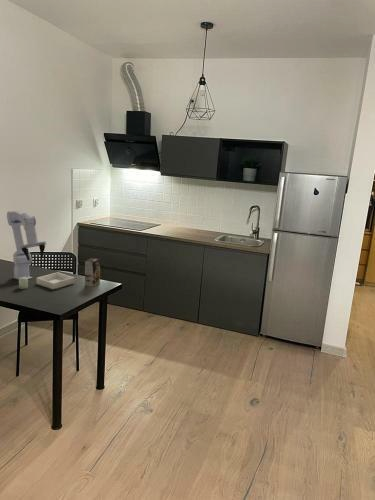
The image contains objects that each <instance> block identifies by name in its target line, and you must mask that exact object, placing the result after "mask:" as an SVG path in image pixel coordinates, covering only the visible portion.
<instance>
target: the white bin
mask: <svg viewBox="0 0 375 500" xmlns="http://www.w3.org/2000/svg"><path fill="white" fill-rule="evenodd" d="M36 284H37V285H39V286H41V287H45V288H47V289H51V290H53V291H55V290H58V289H61V288H64V287H68V286H70V285H74V284H75V277H74V276H72V275H67V274H64V273H62V272H54V273H50V274H46V275H41V276H38V277H36ZM67 285H68V286H67Z"/></svg>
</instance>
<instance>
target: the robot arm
mask: <svg viewBox="0 0 375 500" xmlns="http://www.w3.org/2000/svg"><path fill="white" fill-rule="evenodd" d="M6 219H7V224H8V226H10V227H11V228H12V229H11V230H12V233H13V238H14V243H15V247H16V251H14V253H13V255H12V256H13V257H12V258H13V264H14V266H13V275H14V276H12V278H13V279H16V280H18V281H19V278H20V277H28V280H29V279H33V277H32V276H30V265H31V264H32V262H33V258H32V255H31V252H30V251H29V248H35V247H39V252H40V257H41V259H44V251H45V248H46V246H47V241H45V240H44V241H39V242H38V236H37V229H36V226H37V225H36V224H37V221H36V220H37V219H36V217H35V216H34V215H33V216H30V215H29V214H27V212H25V211H24V210H17V211H16V210H14V211H10V210H8V211H7V212H6ZM21 226H22V227H23V229H24V232H25V238H26V244H25V243H24V240H23V234H22V229H21V228H22V227H21Z"/></svg>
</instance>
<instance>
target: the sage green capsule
mask: <svg viewBox="0 0 375 500" xmlns="http://www.w3.org/2000/svg"><path fill="white" fill-rule="evenodd" d="M28 288H29V279H28V277H20V278H19V280H18V289H20V290H27V289H28Z"/></svg>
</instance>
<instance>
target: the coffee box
mask: <svg viewBox="0 0 375 500" xmlns="http://www.w3.org/2000/svg"><path fill="white" fill-rule="evenodd" d="M84 261H85V262H84V286H87V287H94V288H95V286H97V285H98V284H100V282H101V258H94V257H91V258H88V259H86V260H84Z"/></svg>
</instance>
